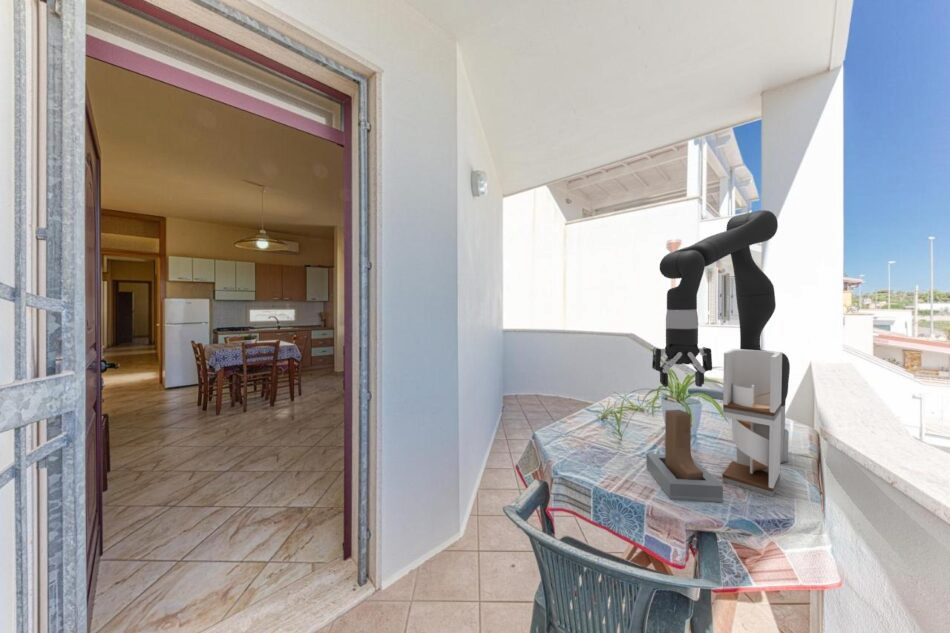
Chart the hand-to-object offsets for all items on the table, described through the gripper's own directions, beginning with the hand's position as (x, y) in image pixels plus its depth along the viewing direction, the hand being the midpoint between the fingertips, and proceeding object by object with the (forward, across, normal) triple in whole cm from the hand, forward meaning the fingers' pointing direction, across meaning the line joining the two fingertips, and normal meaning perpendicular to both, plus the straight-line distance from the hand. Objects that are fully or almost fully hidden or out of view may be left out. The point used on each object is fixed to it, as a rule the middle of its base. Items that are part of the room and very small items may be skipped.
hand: (681, 386), depth 97 cm
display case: (+26, -18, -1) cm, 32 cm away
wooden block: (+25, +1, +2) cm, 25 cm away
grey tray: (+26, +1, +2) cm, 26 cm away
